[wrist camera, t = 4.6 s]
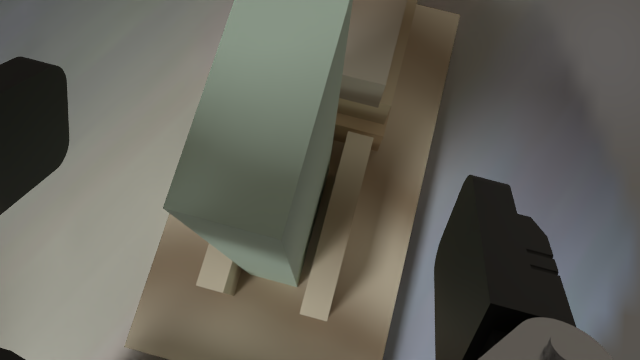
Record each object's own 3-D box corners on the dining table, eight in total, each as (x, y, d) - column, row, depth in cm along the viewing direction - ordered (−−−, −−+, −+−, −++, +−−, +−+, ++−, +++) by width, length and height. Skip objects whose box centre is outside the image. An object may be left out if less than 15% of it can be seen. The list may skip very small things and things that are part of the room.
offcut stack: (377, 151, 24) (399, 98, 18) (253, 119, 24) (236, 56, 18) (407, 31, 25) (437, -54, 20) (290, 2, 26) (285, -91, 20)
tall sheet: (297, 287, 22) (280, 240, 9) (250, 274, 23) (162, 208, 9) (328, 173, 24) (356, -23, 10) (283, 161, 24) (251, -49, 10)
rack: (365, 409, 23) (379, 431, 18) (135, 345, 23) (95, 351, 19) (452, 31, 27) (479, -24, 23) (257, -18, 28) (247, -81, 23)
